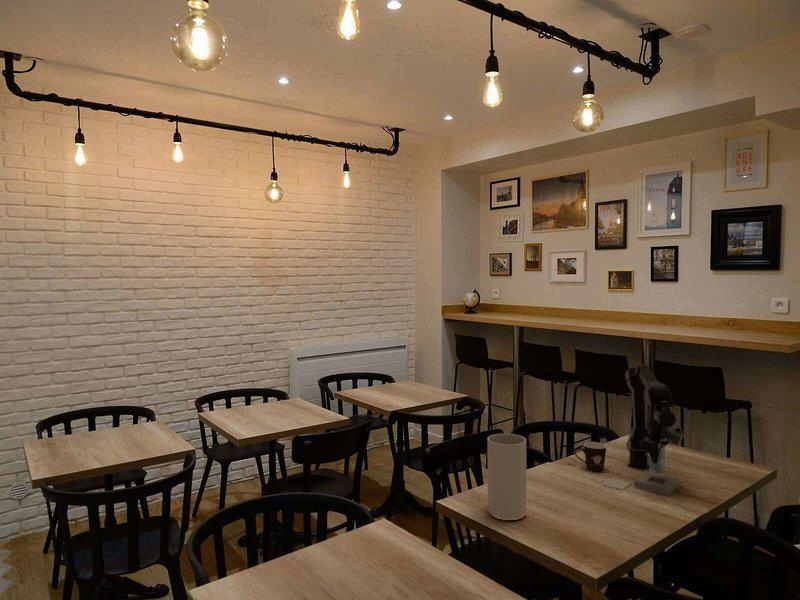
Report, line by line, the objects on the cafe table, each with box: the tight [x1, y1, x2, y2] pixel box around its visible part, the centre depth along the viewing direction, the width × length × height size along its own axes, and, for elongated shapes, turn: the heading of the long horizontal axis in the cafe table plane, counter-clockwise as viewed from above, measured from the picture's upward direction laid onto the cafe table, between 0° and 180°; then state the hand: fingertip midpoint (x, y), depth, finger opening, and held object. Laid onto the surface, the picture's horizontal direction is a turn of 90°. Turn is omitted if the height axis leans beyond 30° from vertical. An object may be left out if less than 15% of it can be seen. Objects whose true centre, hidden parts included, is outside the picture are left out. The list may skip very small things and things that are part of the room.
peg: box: [649, 444, 666, 475], centre depth 202 cm, size 4×4×10 cm
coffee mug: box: [574, 441, 607, 473], centre depth 222 cm, size 12×9×10 cm
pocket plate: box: [633, 471, 681, 497], centre depth 202 cm, size 12×12×2 cm
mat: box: [600, 477, 632, 491], centre depth 205 cm, size 8×8×1 cm
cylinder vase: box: [487, 433, 528, 518], centre depth 181 cm, size 12×12×25 cm
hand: (657, 461), depth 202 cm, fingers closed on peg, 4 cm apart
